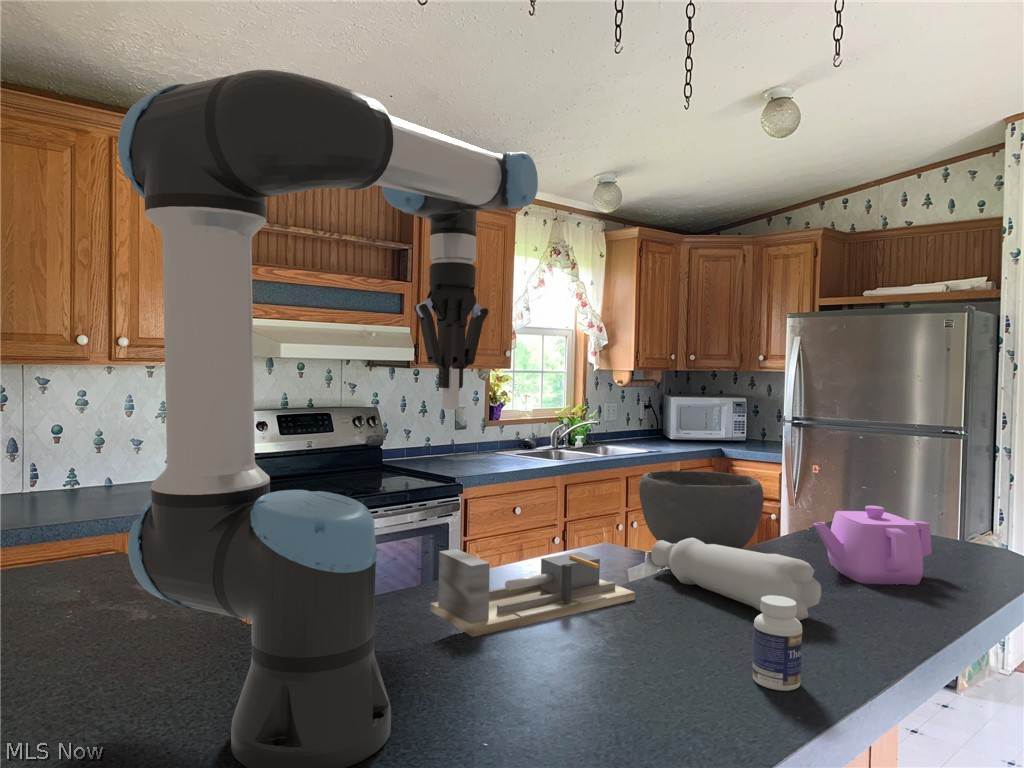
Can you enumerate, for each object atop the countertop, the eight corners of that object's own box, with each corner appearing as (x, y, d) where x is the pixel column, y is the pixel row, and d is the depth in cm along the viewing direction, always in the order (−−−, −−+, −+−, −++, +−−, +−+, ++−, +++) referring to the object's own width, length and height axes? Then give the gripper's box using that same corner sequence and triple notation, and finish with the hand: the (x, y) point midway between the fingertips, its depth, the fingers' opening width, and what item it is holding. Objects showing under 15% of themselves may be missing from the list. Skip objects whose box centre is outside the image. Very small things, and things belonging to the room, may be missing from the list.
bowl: (654, 531, 165) (656, 464, 164) (769, 545, 154) (771, 473, 154) (621, 556, 143) (623, 479, 142) (752, 574, 132) (754, 491, 132)
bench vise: (634, 599, 117) (636, 542, 116) (472, 636, 99) (474, 569, 99) (585, 580, 126) (586, 527, 126) (430, 611, 109) (431, 549, 109)
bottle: (832, 595, 110) (686, 555, 136) (811, 548, 108) (665, 516, 133) (800, 638, 106) (655, 588, 132) (777, 591, 103) (633, 549, 129)
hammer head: (570, 601, 109) (571, 565, 109) (566, 602, 109) (567, 566, 109) (565, 599, 110) (566, 563, 110) (561, 600, 110) (562, 564, 110)
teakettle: (908, 594, 122) (910, 520, 122) (806, 572, 134) (808, 505, 134) (938, 575, 134) (940, 507, 134) (842, 556, 146) (844, 494, 146)
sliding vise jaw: (616, 595, 114) (617, 561, 114) (532, 613, 105) (533, 576, 104) (579, 581, 121) (580, 548, 121) (498, 597, 112) (499, 562, 112)
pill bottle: (795, 696, 83) (798, 611, 83) (747, 684, 86) (749, 602, 86) (804, 679, 88) (807, 598, 88) (758, 669, 91) (760, 590, 90)
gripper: (474, 269, 127) (472, 406, 127) (406, 262, 119) (403, 408, 120) (499, 264, 120) (496, 409, 121) (428, 257, 113) (425, 410, 114)
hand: (450, 408), depth 121 cm, fingers closed
